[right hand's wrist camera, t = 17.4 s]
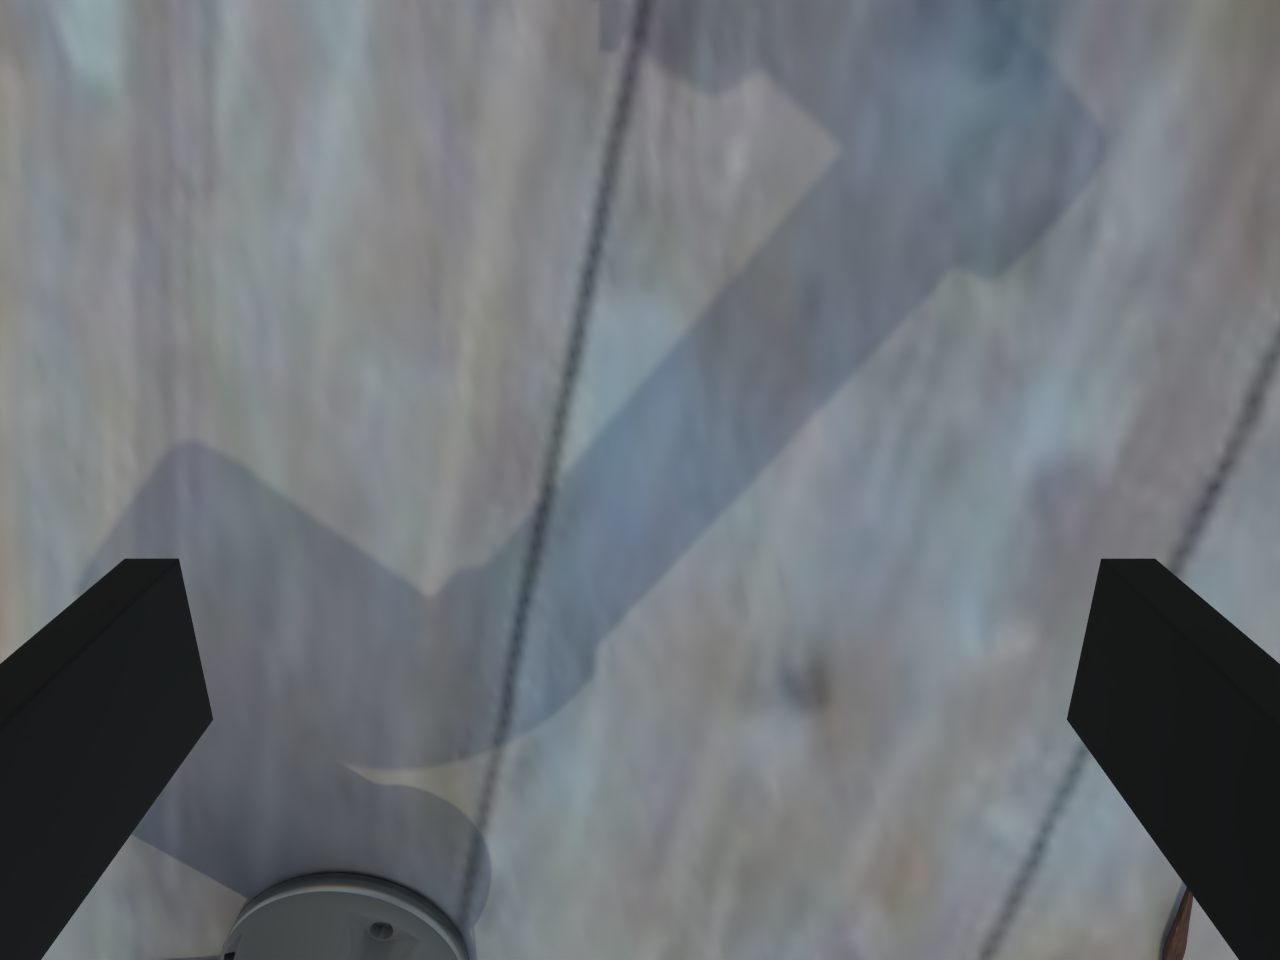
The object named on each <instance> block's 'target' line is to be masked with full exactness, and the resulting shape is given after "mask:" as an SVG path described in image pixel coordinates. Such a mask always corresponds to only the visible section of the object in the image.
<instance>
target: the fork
mask: <svg viewBox="0 0 1280 960" xmlns="http://www.w3.org/2000/svg"><path fill="white" fill-rule="evenodd" d="M1192 901H1193V895H1192V893H1191V892H1190V891H1189V889H1188V888H1187V889H1186V891H1185V893H1184V896H1183V899H1182V901H1181V904H1180V907H1179V910H1178V913H1177V915H1176V918H1175V921H1174V923H1173V925H1172V928H1171V930H1170V932H1169V935H1168V937H1167V940H1166V943H1165V946H1164V950H1163V956H1162V960H1183V957H1184V954H1185V949H1186V943H1187V936H1188V928H1189V920H1190V914H1191V908H1192Z"/></svg>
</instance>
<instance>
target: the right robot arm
mask: <svg viewBox="0 0 1280 960" xmlns="http://www.w3.org/2000/svg"><path fill="white" fill-rule="evenodd" d="M212 720H213V717H212V712H211V707H210V703H209V698H208V693H207V689H206V684H205V679H204V675H203V670H202V665H201V661H200V656H199V651H198V647H197V642H196V637H195V633H194V628H193V623H192V618H191V614H190V609H189V604H188V600H187V595H186V590H185V586H184V581H183V576H182V572H181V567H180V562H179V559H124V560H123V561H122V562H120V563H119V564H118V565H117V566H116V567H115V568H113V569H112V570H111V571H110V572H109V573H107V574H106V575H105V576H104V577H103V578H102V579H100V580H99V581H98V582H97V583H96V584H94V585H93V586H92V587H91V588H90V589H89V590H87V591H86V592H85V593H84V594H83V595H81V596H80V597H79V598H78V599H77V600H76V601H74V602H73V603H72V604H71V605H70V606H68V607H67V608H66V609H65V610H64V611H62V612H61V613H60V614H59V615H58V616H57V617H55V618H54V619H53V620H52V621H51V622H49V623H48V624H47V625H46V626H45V627H44V628H42V629H41V630H40V631H39V632H38V633H36V634H35V635H34V636H33V637H32V638H31V639H29V640H28V641H27V642H26V643H25V644H23V645H22V646H21V647H20V648H19V649H17V650H16V651H15V652H14V653H13V654H12V655H10V656H9V657H8V658H7V659H6V660H4V661H3V662H2V663H1V664H0V960H41V959H42V958H43V956H44V955H45V953H46V952H47V951H48V949H49V948H50V946H51V945H52V944H53V942H54V941H55V939H56V938H57V937H58V935H59V934H60V932H61V931H62V930H63V928H64V927H65V925H66V924H67V923H68V921H69V920H70V918H71V917H72V916H73V914H74V913H75V911H76V910H77V909H78V907H79V906H80V905H81V903H82V902H83V900H84V899H85V898H86V896H87V895H88V893H89V892H90V891H91V889H92V888H93V886H94V885H95V884H96V882H97V881H98V879H99V878H100V877H101V875H102V874H103V872H104V871H105V870H106V868H107V867H108V865H109V864H110V863H111V861H112V860H113V858H114V857H115V856H116V854H117V853H118V851H119V850H120V849H121V847H122V846H123V845H124V843H125V842H126V840H127V839H128V838H129V836H130V835H131V833H132V832H133V831H134V829H135V828H136V826H137V825H138V824H139V822H140V821H141V819H142V818H143V817H144V815H145V814H146V812H147V811H148V810H149V808H150V807H151V805H152V804H153V803H154V801H155V800H156V798H157V797H158V796H159V794H160V793H161V791H162V790H163V789H164V787H165V786H166V784H167V783H168V782H169V780H170V779H171V778H172V776H173V775H174V773H175V772H176V771H177V769H178V768H179V766H180V765H181V764H182V762H183V761H184V759H185V758H186V757H187V755H188V754H189V752H190V751H191V750H192V748H193V747H194V745H195V744H196V743H197V741H198V740H199V738H200V737H201V736H202V734H203V733H204V731H205V730H206V729H207V727H208V726H209V724H210V723H211V722H212ZM1067 720H1068V722H1069V723H1070V724H1071V726H1072V727H1073V729H1074V730H1075V731H1076V733H1077V734H1078V736H1079V737H1080V738H1081V740H1082V741H1083V743H1084V744H1085V745H1086V747H1087V748H1088V750H1089V751H1090V752H1091V754H1092V755H1093V757H1094V758H1095V759H1096V761H1097V762H1098V764H1099V765H1100V766H1101V768H1102V769H1103V771H1104V772H1105V773H1106V775H1107V776H1108V778H1109V779H1110V780H1111V782H1112V783H1113V784H1114V786H1115V787H1116V789H1117V790H1118V791H1119V793H1120V794H1121V796H1122V797H1123V798H1124V800H1125V801H1126V803H1127V804H1128V805H1129V807H1130V808H1131V810H1132V811H1133V812H1134V814H1135V815H1136V817H1137V818H1138V819H1139V821H1140V822H1141V824H1142V825H1143V826H1144V828H1145V829H1146V831H1147V832H1148V833H1149V835H1150V836H1151V838H1152V839H1153V840H1154V842H1155V843H1156V845H1157V846H1158V847H1159V849H1160V850H1161V851H1162V853H1163V854H1164V856H1165V857H1166V858H1167V860H1168V861H1169V863H1170V864H1171V865H1172V867H1173V868H1174V870H1175V871H1176V872H1177V874H1178V875H1179V877H1180V878H1181V879H1182V881H1183V882H1184V884H1185V885H1186V886H1187V888H1188V889H1189V891H1190V892H1191V893H1192V895H1193V896H1194V898H1195V899H1196V900H1197V902H1198V903H1199V905H1200V906H1201V907H1202V909H1203V910H1204V911H1205V913H1206V914H1207V916H1208V917H1209V918H1210V920H1211V921H1212V923H1213V924H1214V925H1215V927H1216V928H1217V930H1218V931H1219V932H1220V934H1221V935H1222V937H1223V938H1224V939H1225V941H1226V942H1227V944H1228V945H1229V946H1230V948H1231V949H1232V951H1233V952H1234V953H1235V955H1236V956H1237V958H1238V959H1239V960H1280V664H1279V663H1278V662H1277V661H1276V660H1274V659H1273V658H1272V657H1271V656H1270V655H1268V654H1267V653H1266V652H1265V651H1264V650H1263V649H1261V648H1260V647H1259V646H1258V645H1257V644H1255V643H1254V642H1253V641H1252V640H1251V639H1249V638H1248V637H1247V636H1246V635H1245V634H1244V633H1242V632H1241V631H1240V630H1239V629H1238V628H1236V627H1235V626H1234V625H1233V624H1232V623H1231V622H1229V621H1228V620H1227V619H1226V618H1225V617H1223V616H1222V615H1221V614H1220V613H1219V612H1218V611H1216V610H1215V609H1214V608H1213V607H1212V606H1210V605H1209V604H1208V603H1207V602H1206V601H1204V600H1203V599H1202V598H1201V597H1200V596H1199V595H1197V594H1196V593H1195V592H1194V591H1193V590H1191V589H1190V588H1189V587H1188V586H1187V585H1186V584H1184V583H1183V582H1182V581H1181V580H1180V579H1178V578H1177V577H1176V576H1175V575H1174V574H1173V573H1171V572H1170V571H1169V570H1168V569H1167V568H1165V567H1164V566H1163V565H1162V564H1161V563H1160V562H1158V561H1157V560H1156V559H1101V562H1100V567H1099V572H1098V576H1097V581H1096V586H1095V590H1094V595H1093V600H1092V604H1091V609H1090V614H1089V618H1088V623H1087V628H1086V633H1085V637H1084V642H1083V647H1082V651H1081V656H1080V661H1079V665H1078V670H1077V675H1076V679H1075V684H1074V689H1073V693H1072V698H1071V703H1070V707H1069V712H1068V717H1067ZM219 960H469V958H468V954H467V950H466V948H465V945H464V942H463V940H462V939H461V937H460V935H459V933H458V932H457V930H456V929H455V927H454V926H453V924H452V923H451V922H450V921H449V920H448V919H447V917H446V916H445V915H443V914H442V913H441V912H440V911H439V910H438V909H437V908H436V907H435V906H433V905H432V904H431V903H429V902H428V901H426V900H425V899H423V898H422V897H420V896H419V895H417V894H415V893H413V892H412V891H410V890H407V889H405V888H403V887H401V886H399V885H396V884H393V883H391V882H388V881H384V880H381V879H377V878H373V877H369V876H364V875H357V874H347V873H323V874H313V875H307V876H302V877H298V878H294V879H290V880H288V881H285V882H282V883H279V884H277V885H275V886H273V887H271V888H269V889H267V890H266V891H264V892H262V893H261V894H260V895H258V896H257V897H256V898H254V899H253V900H252V901H251V902H250V903H249V904H248V905H247V906H246V907H245V908H244V909H243V911H242V912H241V913H240V915H239V916H238V918H237V919H236V921H235V923H234V925H233V927H232V929H231V931H230V933H229V935H228V937H227V939H226V941H225V943H224V946H223V949H222V952H221V955H220V958H219Z"/></svg>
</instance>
